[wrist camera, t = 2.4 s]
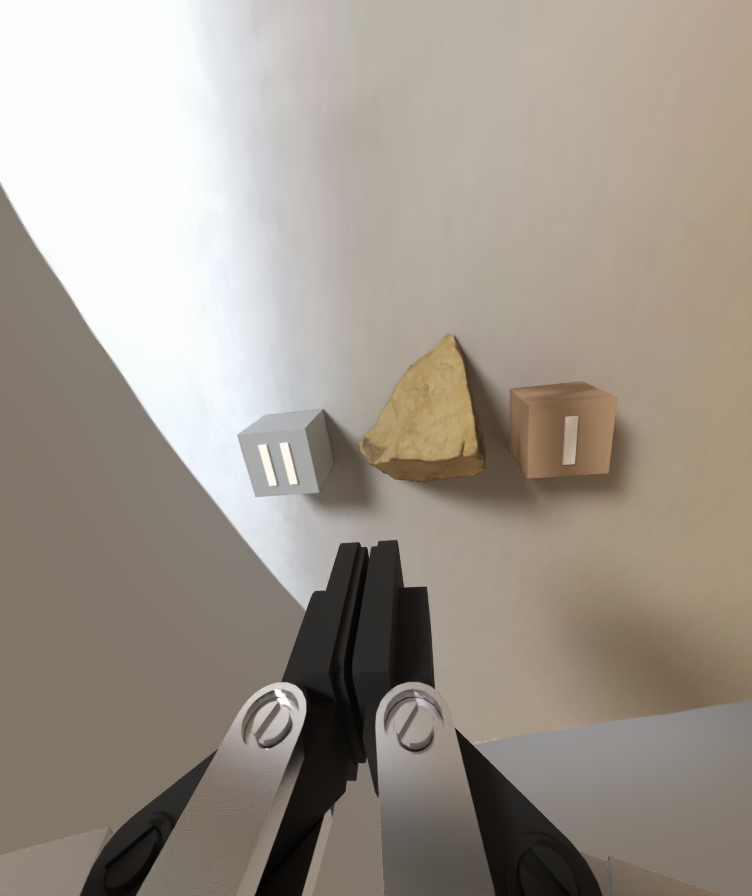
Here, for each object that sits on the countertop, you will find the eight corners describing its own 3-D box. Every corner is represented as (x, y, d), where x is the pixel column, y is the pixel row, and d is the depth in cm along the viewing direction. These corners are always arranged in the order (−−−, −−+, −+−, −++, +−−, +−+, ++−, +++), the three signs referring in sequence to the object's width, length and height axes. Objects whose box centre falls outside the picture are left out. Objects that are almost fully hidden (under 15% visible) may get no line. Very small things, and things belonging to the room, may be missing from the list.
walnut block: (581, 381, 25) (618, 398, 21) (576, 446, 27) (609, 476, 22) (509, 388, 26) (529, 406, 21) (509, 451, 28) (527, 481, 23)
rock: (372, 507, 29) (498, 486, 25) (315, 498, 21) (486, 466, 17) (359, 387, 32) (470, 353, 28) (305, 340, 24) (449, 287, 20)
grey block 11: (323, 408, 28) (304, 428, 24) (334, 465, 30) (319, 495, 25) (265, 414, 29) (236, 435, 24) (280, 470, 31) (255, 499, 26)
